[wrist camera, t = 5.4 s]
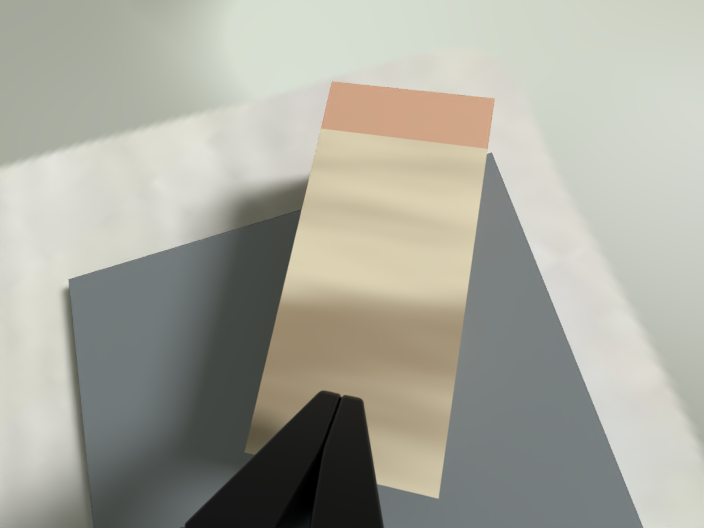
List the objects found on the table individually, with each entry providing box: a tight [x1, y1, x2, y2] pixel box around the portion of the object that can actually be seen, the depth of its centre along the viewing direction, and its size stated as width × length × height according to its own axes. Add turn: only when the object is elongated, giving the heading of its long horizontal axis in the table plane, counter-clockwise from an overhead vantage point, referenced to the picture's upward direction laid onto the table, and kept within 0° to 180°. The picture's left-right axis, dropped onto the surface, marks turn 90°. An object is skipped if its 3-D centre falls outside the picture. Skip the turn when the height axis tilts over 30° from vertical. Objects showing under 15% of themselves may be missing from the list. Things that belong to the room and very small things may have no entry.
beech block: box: [245, 82, 494, 499], centre depth 14 cm, size 4×4×10 cm
